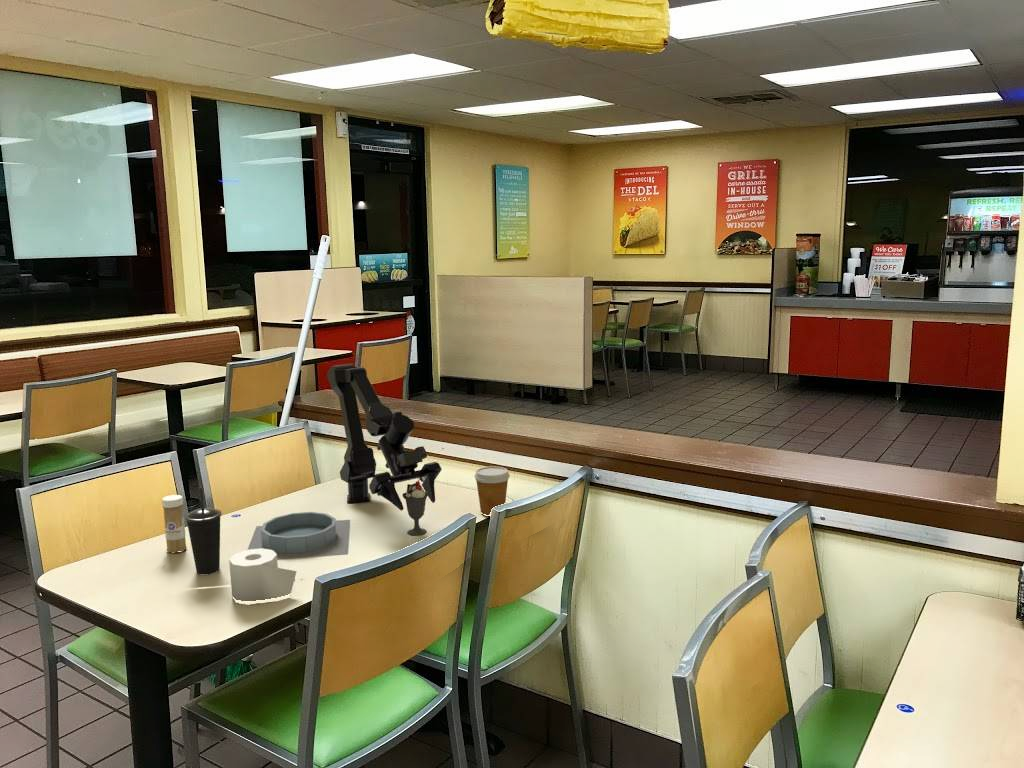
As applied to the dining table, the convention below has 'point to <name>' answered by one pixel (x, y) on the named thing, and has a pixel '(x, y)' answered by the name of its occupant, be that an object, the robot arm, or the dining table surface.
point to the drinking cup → (205, 537)
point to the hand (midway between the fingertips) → (418, 505)
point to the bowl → (298, 532)
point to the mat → (332, 549)
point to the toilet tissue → (259, 576)
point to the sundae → (415, 506)
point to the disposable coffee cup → (491, 487)
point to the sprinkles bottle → (174, 523)
